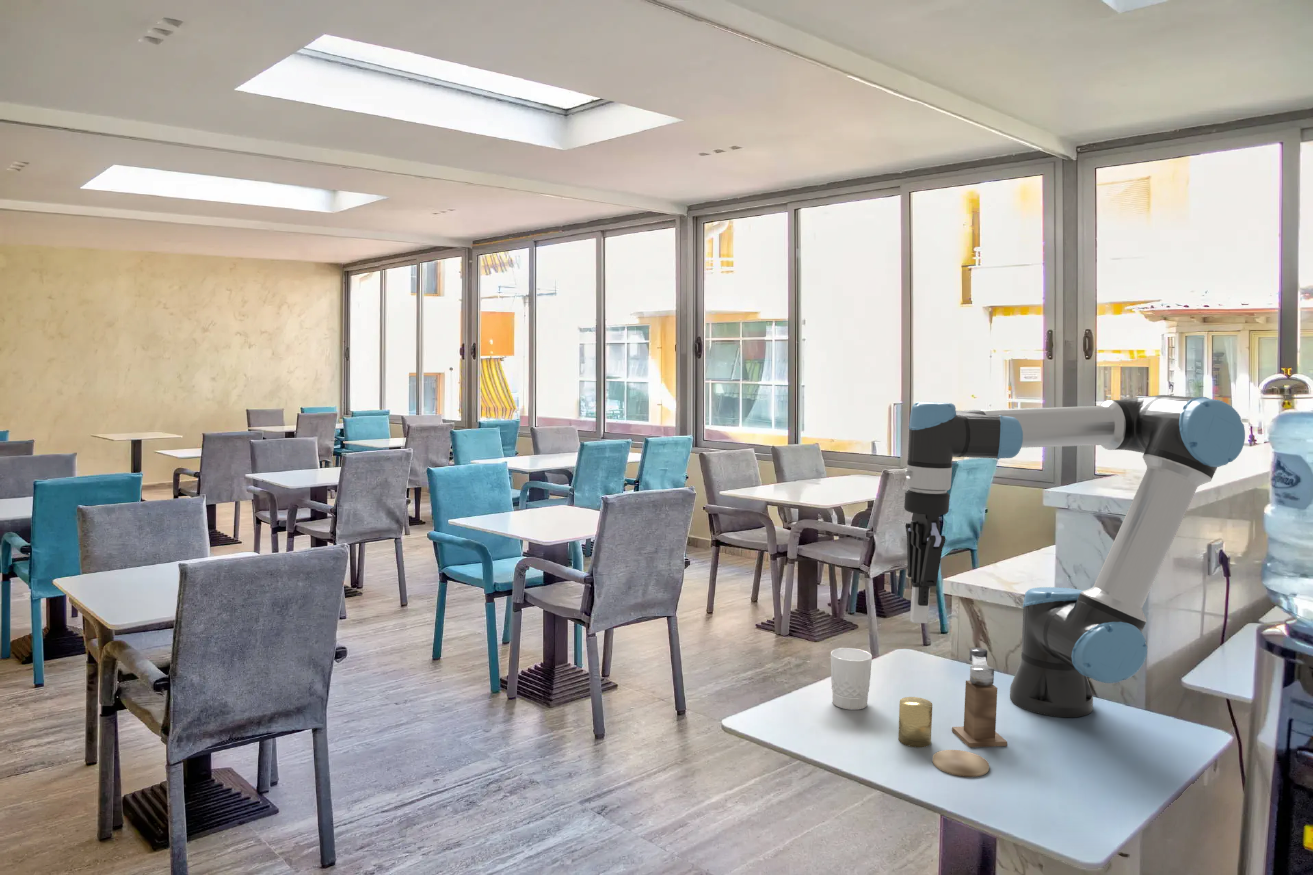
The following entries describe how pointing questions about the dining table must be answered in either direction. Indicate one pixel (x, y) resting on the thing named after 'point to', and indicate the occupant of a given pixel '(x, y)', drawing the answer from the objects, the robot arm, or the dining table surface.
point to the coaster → (960, 763)
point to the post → (980, 717)
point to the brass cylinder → (915, 722)
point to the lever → (980, 667)
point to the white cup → (850, 677)
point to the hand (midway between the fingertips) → (918, 621)
